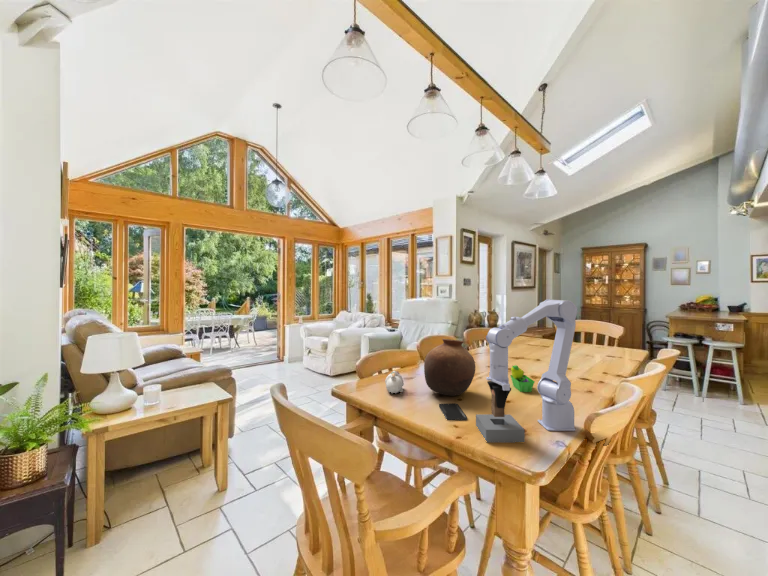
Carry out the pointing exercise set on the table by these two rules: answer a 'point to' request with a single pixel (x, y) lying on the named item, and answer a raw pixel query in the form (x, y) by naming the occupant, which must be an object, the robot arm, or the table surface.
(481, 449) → the table surface
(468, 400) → the table surface
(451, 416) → the phone
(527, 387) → the fruit basket
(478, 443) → the table surface
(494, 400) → the peg
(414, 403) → the table surface
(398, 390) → the white rounded piece
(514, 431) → the socket block
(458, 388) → the pottery
